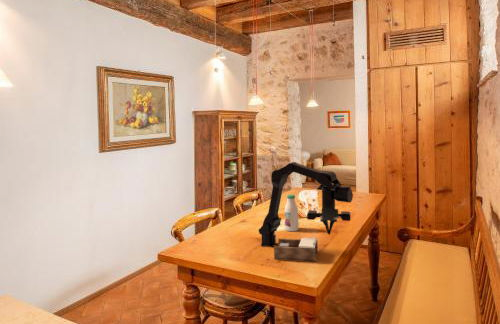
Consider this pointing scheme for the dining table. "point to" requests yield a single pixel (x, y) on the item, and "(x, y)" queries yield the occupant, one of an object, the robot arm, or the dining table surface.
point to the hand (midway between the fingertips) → (329, 234)
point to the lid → (308, 242)
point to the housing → (295, 251)
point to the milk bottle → (291, 214)
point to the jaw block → (284, 245)
